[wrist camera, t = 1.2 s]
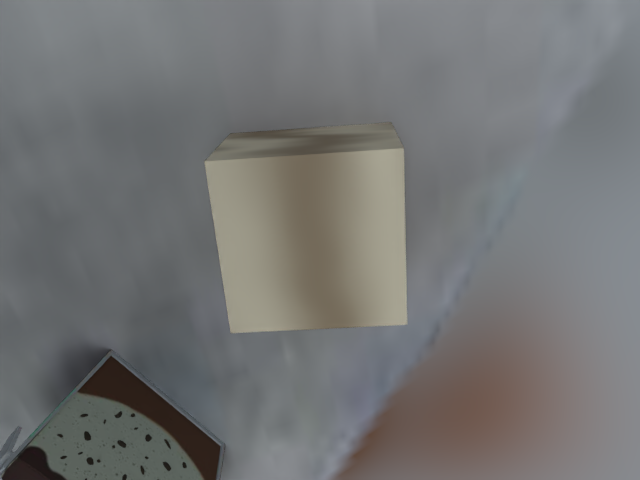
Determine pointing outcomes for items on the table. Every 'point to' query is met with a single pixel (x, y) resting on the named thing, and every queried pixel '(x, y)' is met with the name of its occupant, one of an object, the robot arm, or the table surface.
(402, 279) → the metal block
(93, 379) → the food container
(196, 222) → the table surface
